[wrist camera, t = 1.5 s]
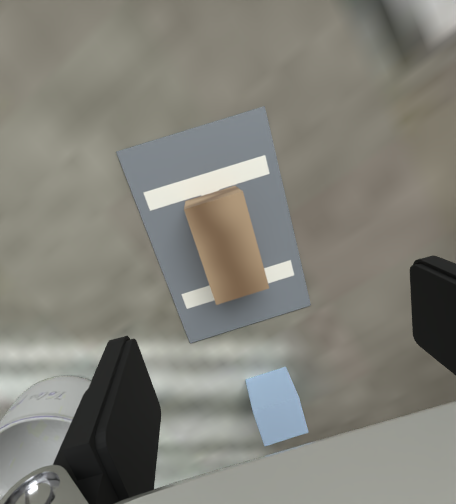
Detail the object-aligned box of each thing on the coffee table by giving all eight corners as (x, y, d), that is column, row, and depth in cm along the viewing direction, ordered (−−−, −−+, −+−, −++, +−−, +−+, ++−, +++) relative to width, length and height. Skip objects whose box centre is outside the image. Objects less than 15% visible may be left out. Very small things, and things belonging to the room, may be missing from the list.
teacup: (73, 343, 34) (39, 397, 26) (144, 403, 37) (131, 467, 29) (-18, 416, 35) (-76, 488, 28) (58, 468, 38) (24, 545, 31)
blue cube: (285, 366, 38) (298, 397, 33) (294, 398, 39) (308, 432, 34) (245, 379, 38) (252, 411, 33) (255, 410, 39) (264, 446, 34)
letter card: (264, 106, 29) (264, 106, 29) (310, 304, 35) (310, 305, 35) (116, 151, 29) (116, 151, 29) (190, 342, 35) (190, 343, 35)
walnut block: (235, 185, 30) (242, 191, 26) (258, 269, 33) (269, 288, 28) (185, 200, 30) (183, 209, 26) (213, 283, 33) (216, 304, 28)
